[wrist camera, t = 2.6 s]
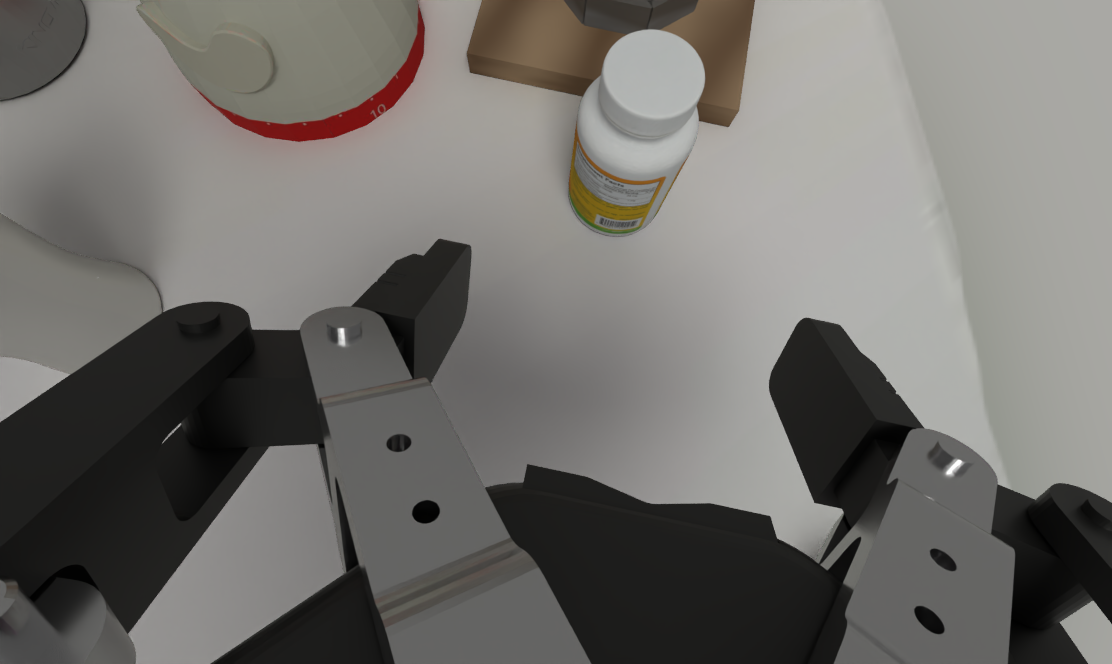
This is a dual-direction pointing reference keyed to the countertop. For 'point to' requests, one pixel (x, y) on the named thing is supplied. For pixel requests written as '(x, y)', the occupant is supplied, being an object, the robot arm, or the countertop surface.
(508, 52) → the socket board
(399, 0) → the kitchen timer
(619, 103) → the supplement bottle
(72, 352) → the beer glass
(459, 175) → the countertop surface
